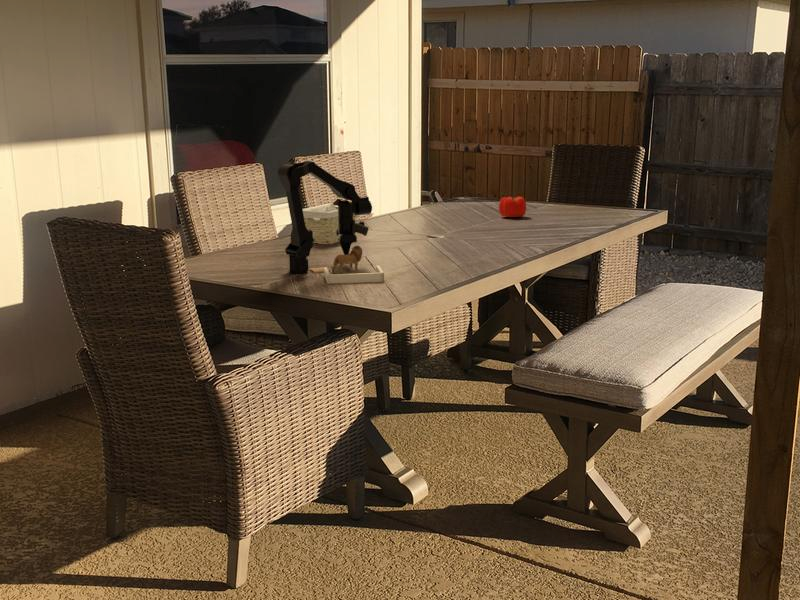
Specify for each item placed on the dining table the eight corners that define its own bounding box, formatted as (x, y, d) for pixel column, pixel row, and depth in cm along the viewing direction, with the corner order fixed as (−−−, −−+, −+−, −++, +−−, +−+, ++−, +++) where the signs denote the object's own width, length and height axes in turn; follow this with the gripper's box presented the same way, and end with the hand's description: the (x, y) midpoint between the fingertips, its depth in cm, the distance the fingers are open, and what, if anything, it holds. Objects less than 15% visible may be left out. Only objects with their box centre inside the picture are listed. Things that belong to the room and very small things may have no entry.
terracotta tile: (314, 274, 354) (314, 271, 354) (309, 271, 360) (309, 268, 360) (330, 273, 357) (330, 269, 357) (324, 270, 362) (324, 266, 362)
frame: (327, 283, 336) (326, 275, 336) (324, 275, 350) (323, 267, 349) (384, 281, 339) (384, 273, 338) (378, 273, 353) (378, 265, 352)
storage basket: (329, 246, 410) (328, 211, 407) (298, 243, 418) (297, 209, 415) (359, 237, 430) (359, 204, 427) (329, 234, 438) (328, 202, 435)
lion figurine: (356, 267, 364) (355, 244, 362) (366, 269, 360) (365, 245, 358) (327, 273, 353) (326, 249, 351) (337, 275, 350) (337, 251, 348)
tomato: (526, 215, 491) (526, 195, 489) (525, 219, 479) (526, 198, 476) (499, 215, 493) (499, 195, 491) (498, 219, 480) (498, 198, 478)
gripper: (370, 219, 356) (370, 261, 360) (364, 212, 374) (364, 252, 378) (339, 220, 355) (340, 262, 358) (335, 213, 373) (336, 253, 376)
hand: (346, 257), depth 368 cm, fingers closed
